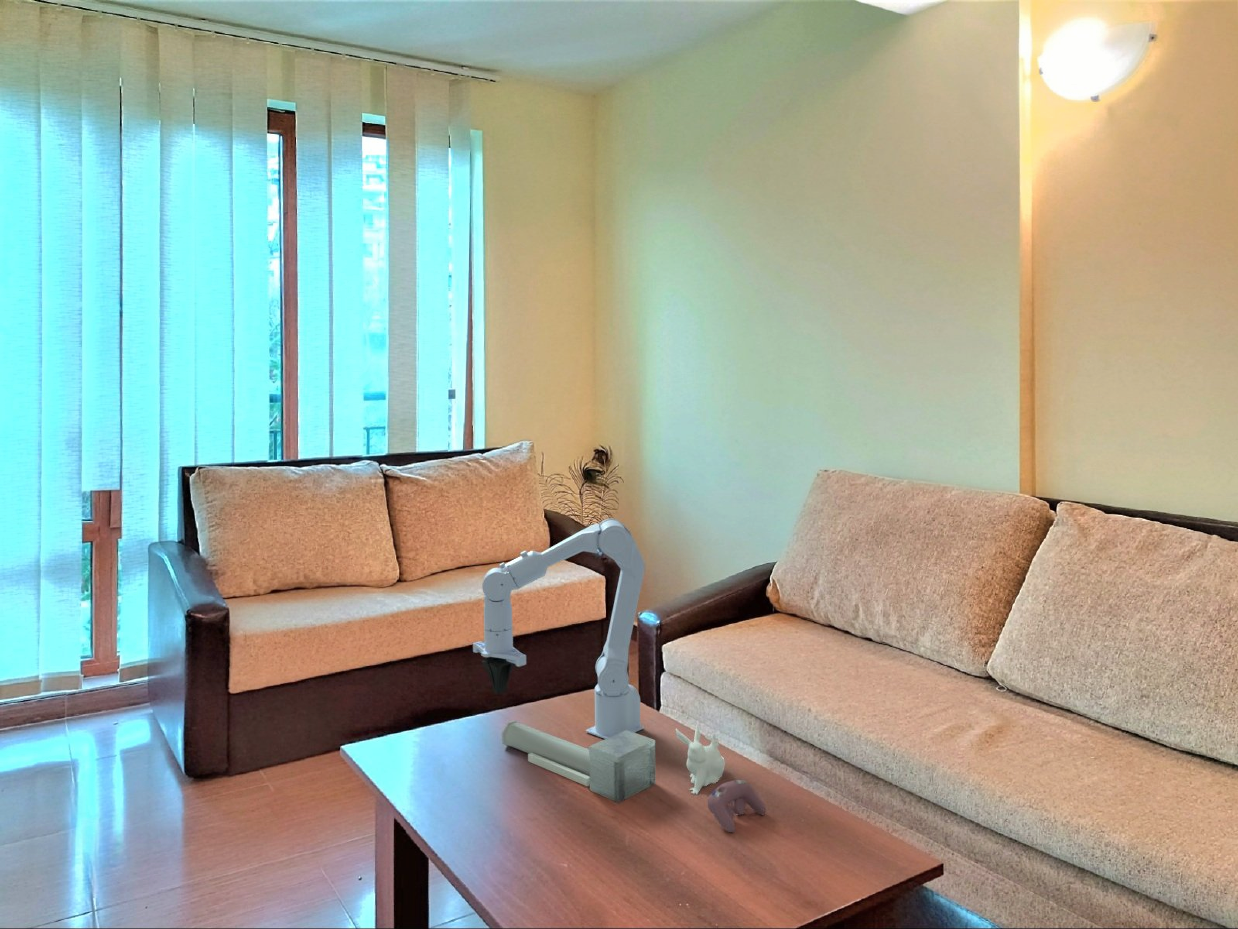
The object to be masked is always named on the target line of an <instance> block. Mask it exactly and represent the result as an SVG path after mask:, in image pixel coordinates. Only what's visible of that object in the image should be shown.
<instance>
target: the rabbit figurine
mask: <svg viewBox="0 0 1238 929" xmlns="http://www.w3.org/2000/svg"><path fill="white" fill-rule="evenodd" d="M675 733H676V737H677V739H678V740H679V741H680V742H682V743H684V744H685V745H686V746H688V748H687V749H688V750H687V760H686V768H687V770H688V771H689V773H690V775H689V777H690V778H691V777H692V778H691V779H690V783H691V784H694V787H691V788H690V789H688V790H689V791H690V790H693V791H691V792H690V794H691V793H692V794H693V795H698V794H699V792H700V791H701V789H702V788H703V787H708V786H709V785H710V784H717V783H716V782H718V781H719V780H720V779H721V778H722V776H723V774H724V770H725V769H724V768H725V766H726V762H725V758H724V756H722V755H721V752H720V750H719V749H718V748H719V746H720V742H719V739H718V738H717V737H716V734H712V736H710V735H708V734H705V736H704V738H705V739H707V740H708V741H710V744H709V745H703V744H702V743H700V741H701V740H700V738H701V736H702V735H701V734H702V733H701V732H700V730H699V725H698V724H695V732H694V739H693V741H691V740H690V739H689V738H688V736H686V735H685V734H683V733H682V732H681V731H680V730H679V729H678V728H675ZM720 777H721V778H720ZM719 778H720V779H719ZM708 784H709V785H708ZM707 785H708V786H707Z"/></svg>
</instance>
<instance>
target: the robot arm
mask: <svg viewBox="0 0 1238 929" xmlns="http://www.w3.org/2000/svg"><path fill="white" fill-rule="evenodd" d="M599 548H600V550H601V552H602V553H603V554H605V555H606V556H607V557H609V558H610V559H612V560H614V562H615V563H616V565H617V566H618V567H619V569H620V573H619V577H618V582H617V588H616V592H615V597H614V603H613V607H612V611H611V617H610V622H609V627H608V633H607V637H606V641H605V644H604V646H603V650H602V652H601V655H600V656H598V658H597V660H596V662H595V665H594V666H595V667H594V668H595V673H596V674H597V684H596V685H595V687H594V726H592V727H589V728H587V729H586V730H585V731H586V733H588V734H591V735H594V736H595V737H598V738H602V739H603V740H605V739H607V738H609V737H612V736H614V735H616V734H618V733H621V732H623V731H625V730H628V731H631V732H634V733H637V732H639V731H641V730H643V729H644V725H641V696H640V694H639V691H638V690H637V688H636V687H635V686H633V685H632V684H629V682H630V676H629V674H628V666H629V665H628V664H629V648H630V643H631V638H632V634H633V628H634V623H635V618H636V614H637V608H638V603H639V599H640V593H641V590H642V584H643V580H644V574H645V569H646V564H645V561H644V558H643V556H642V553H641V552H640V549H639V548H638V545H637V541H636V540H635V538H634V537H633V535H632V533H631V530H629V528H627V527H626V525H625V524H624V523H622V521H621V520H619V519H616V518H607V519H604V520H603V521H601V522H600V523H598V522H597V523H595V524H592V525H589V526H587V527H586V528H583V529H582V530H580V531H578V532H576V533H574V534H573V535H571V536H569V537H567V538H565V539H563V540H562V541H560V542H558V543H557V544H554V545H553V546H550V547H549V548H547V549H546V550H544V551H542V552H541V551H540V552H538V551H535V550H530V551H529V552H528V551H527V550H523V551H521V552H520V556H518V557H516V558H515V559H512V560H510V561H508V562H506V563H505V562H504V561H503V562H502V563H500V564H498V566H499V567H493V568H491V569H489V570H488V571H487V572H486V574H485V575H484V578H483V581H482V587H481V588H482V591H483V594H484V596H483V602H484V603H483V604H484V605H483V628H484V632H483V633H484V641H480V640H479V641H476V642H473V643H472V652H473V653H476V654H477V653H480V655H481V656H482V657H483V658H484V659H482V661H481V664H482V666H483V668H484V669H485V670H486V672H487V675H488V677H489V681H490V682H491V688H492V691H493V693H494V694H495V695H497V696H499V695H502V694H504V693H506V691H507V688H508V683H509V680H510V676H511V673H512V671H513V669H514V667H515V666H516V667H519V668H520V667H522V666H525V665H527V654H524V653H522V652H520V651H519V650H518V649H517V648H515V647H514V633H513V632H514V631H513V630H514V629H513V605H512V603H511V593H512V591H513V590H514V591H516V590H519V589H521V588H524V587H526V586H527V585H529V584H532V583H534V582H535V581H537V580H539V579H541V578H542V577H544V576H545V575H546V573H547V571H548V568H549V567H551V566H553V565H556V564H558V563H560V562H563V561H565V560H567V559H569V558H571V557H573V556H576V555H578V554H579V553H582V552H585V553H592V554H598V553H599V551H598V550H599Z"/></svg>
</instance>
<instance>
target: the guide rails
mask: <svg viewBox="0 0 1238 929" xmlns="http://www.w3.org/2000/svg"><path fill="white" fill-rule="evenodd" d="M527 762H529V763H532V764H534V765H536V766H539V767H541V768H543V769H546V770H548V771H551V772H553V773H556V775H559V776H562V777H564V778H567V779H569V780H571V781H573V782H576V783H579V784H581V785H583V786H585V787H590V777H589V776H587V775H585V774H582V773H580V772H577V771H575V770H573V769H570V768H568V767H565V766H563V765H561V764H558V763H556V762H553V761H551V760H549V759H546V758H544V757H541V756H539V755H536V754H534V753H530V754H528V753H527Z"/></svg>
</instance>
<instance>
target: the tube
mask: <svg viewBox="0 0 1238 929" xmlns="http://www.w3.org/2000/svg"><path fill="white" fill-rule="evenodd" d="M501 737H502V738H501V739H502V740H501V743H502V744H503V745H505V746H506V747H508V748H511V747H512V748H514V749H517V750H519V751H522V752H523V753H526V754H527V755H528V754H530V753H534V754H536V755H539V756H541V757H544V758H546V759H549V760H551V761H553V762H556V763H558V764H561V765H563V766H565V767H568V768H570V769H573V770H575V771H577V772H580V773H582V774H585V775H587V776H589V777H590V758H589V748H586V747H584V746H581V745H579V744H576V743H573V742H570V741H568V740H565V739H563V738H560V737H557V736H554V735H552V734H549V733H547V732H545V731H542V730H538V729H537V728H533V727H531V726H528V725H526V724H523V723H521V722H520V721H517V720H515V719H514V720H511V721H509V722H507V723H506V724H505V726H504V728H503V730H502V733H501Z"/></svg>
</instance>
